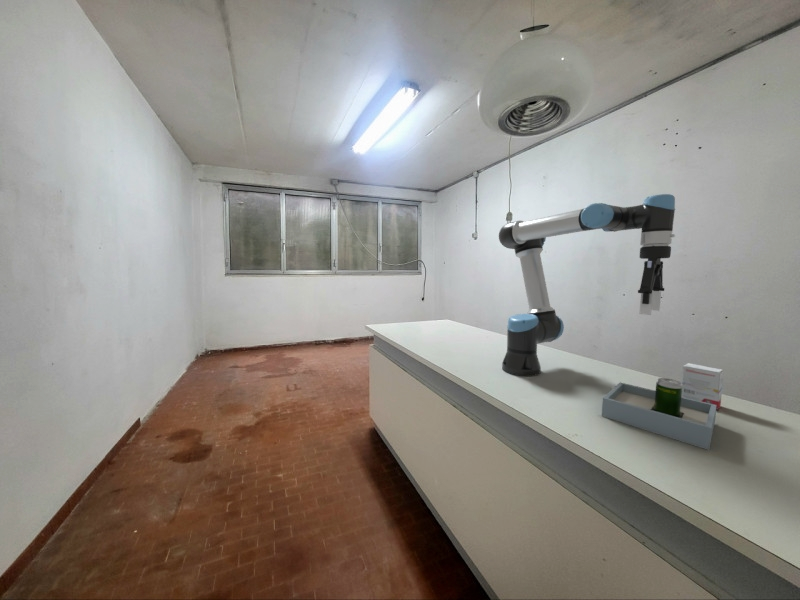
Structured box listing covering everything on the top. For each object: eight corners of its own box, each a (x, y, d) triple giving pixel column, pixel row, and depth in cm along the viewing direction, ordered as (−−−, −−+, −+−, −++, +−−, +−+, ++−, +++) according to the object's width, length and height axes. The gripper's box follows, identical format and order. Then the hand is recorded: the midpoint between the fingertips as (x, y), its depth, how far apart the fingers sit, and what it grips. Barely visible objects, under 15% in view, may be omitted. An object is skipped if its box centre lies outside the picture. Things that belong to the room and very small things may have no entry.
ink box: (721, 406, 93) (725, 369, 92) (717, 410, 91) (721, 372, 89) (684, 396, 101) (687, 362, 99) (679, 400, 98) (682, 365, 97)
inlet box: (601, 415, 88) (602, 397, 87) (618, 398, 99) (620, 382, 99) (708, 450, 71) (711, 428, 71) (714, 424, 83) (716, 405, 82)
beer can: (682, 429, 80) (686, 386, 79) (657, 425, 82) (661, 383, 81) (673, 419, 85) (677, 379, 84) (649, 416, 87) (653, 376, 86)
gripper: (663, 243, 84) (657, 317, 86) (677, 246, 100) (671, 309, 102) (630, 244, 89) (625, 314, 92) (648, 248, 106) (643, 307, 108)
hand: (649, 312), depth 97 cm, fingers open, 13 cm apart
